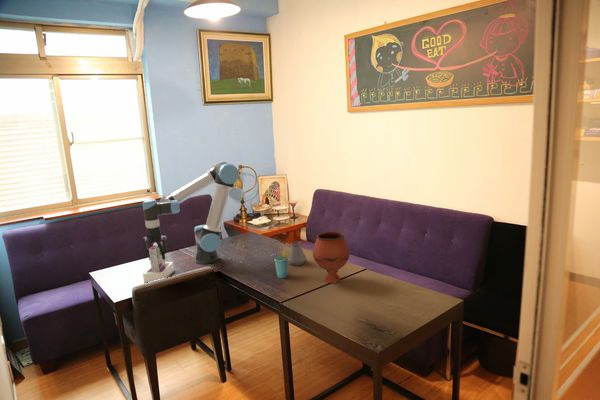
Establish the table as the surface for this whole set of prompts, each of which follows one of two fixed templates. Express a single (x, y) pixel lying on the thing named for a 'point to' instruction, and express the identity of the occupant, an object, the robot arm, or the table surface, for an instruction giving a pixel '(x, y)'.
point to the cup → (281, 264)
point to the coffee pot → (295, 253)
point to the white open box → (158, 273)
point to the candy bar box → (156, 258)
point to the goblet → (331, 254)
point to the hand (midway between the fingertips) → (158, 265)
